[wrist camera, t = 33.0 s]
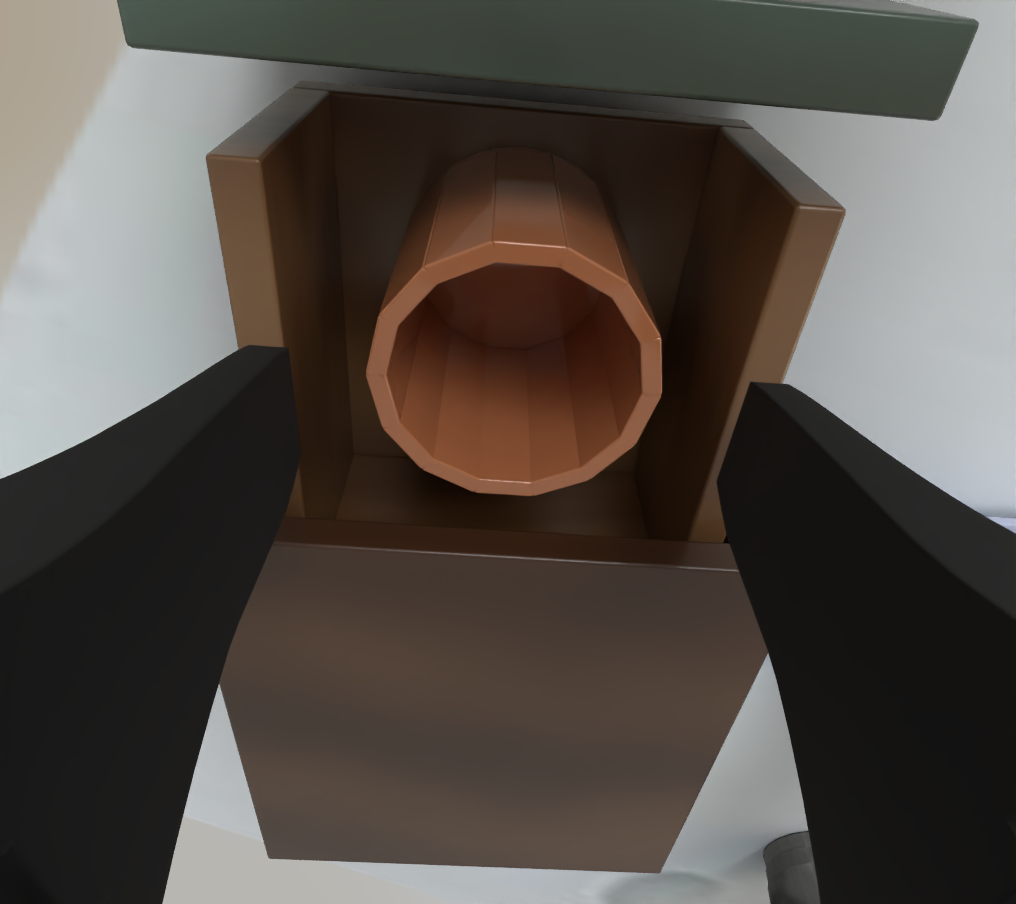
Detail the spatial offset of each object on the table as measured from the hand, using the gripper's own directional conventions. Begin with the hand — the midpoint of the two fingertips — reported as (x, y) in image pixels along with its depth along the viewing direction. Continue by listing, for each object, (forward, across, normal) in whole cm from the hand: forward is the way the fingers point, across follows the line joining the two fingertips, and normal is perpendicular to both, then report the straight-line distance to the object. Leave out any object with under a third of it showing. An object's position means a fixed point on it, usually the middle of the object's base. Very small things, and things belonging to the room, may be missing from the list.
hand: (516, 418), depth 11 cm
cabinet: (+8, 0, +10) cm, 13 cm away
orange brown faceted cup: (+6, 0, 0) cm, 6 cm away
